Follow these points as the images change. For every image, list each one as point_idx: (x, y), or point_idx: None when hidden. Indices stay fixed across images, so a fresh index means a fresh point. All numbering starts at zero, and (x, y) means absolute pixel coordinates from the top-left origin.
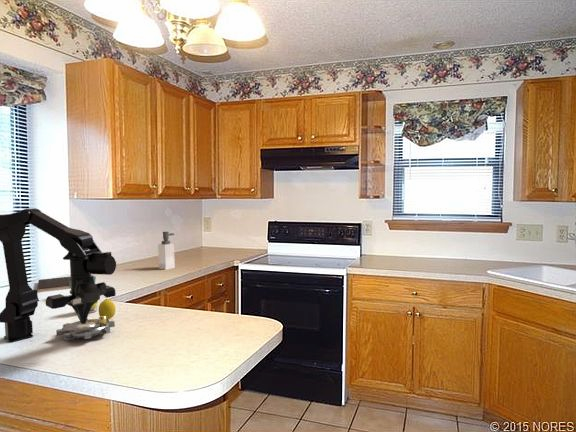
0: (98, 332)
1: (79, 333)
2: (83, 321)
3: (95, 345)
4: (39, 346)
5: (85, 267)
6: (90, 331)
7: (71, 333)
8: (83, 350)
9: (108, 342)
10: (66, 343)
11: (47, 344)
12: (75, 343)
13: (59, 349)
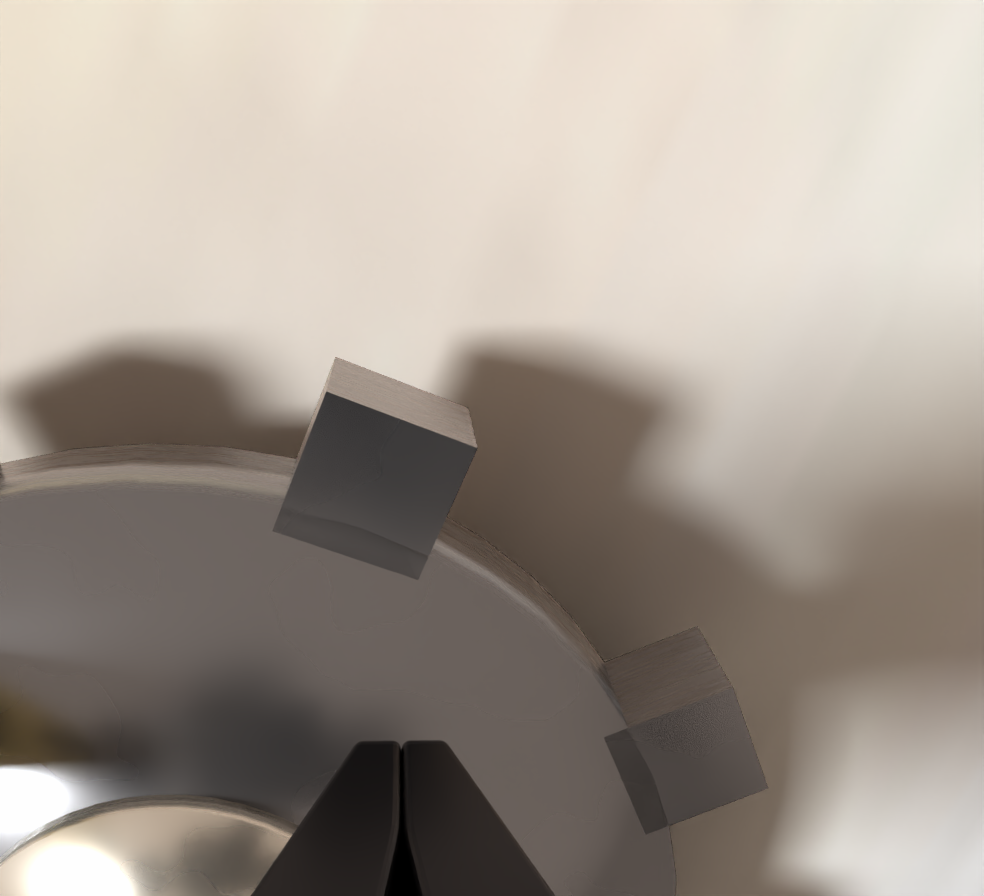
0: (91, 466)
1: (517, 607)
2: (430, 781)
3: (355, 93)
4: (938, 845)
5: None
6: (275, 530)
7: (628, 734)
8: (666, 20)
9: (54, 11)
10: None
11: (832, 842)
12: (554, 551)
13: (871, 485)
